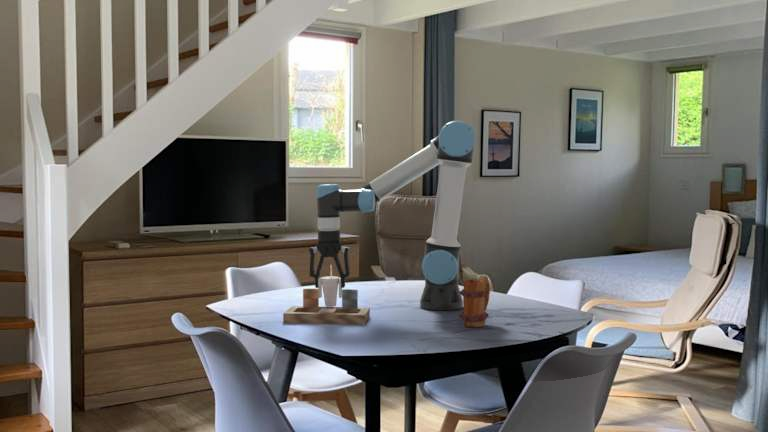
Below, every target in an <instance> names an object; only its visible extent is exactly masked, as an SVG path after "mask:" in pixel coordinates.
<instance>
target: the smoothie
mask: <svg viewBox="0 0 768 432" xmlns="http://www.w3.org/2000/svg"><path fill="white" fill-rule="evenodd" d="M329 268H330V269H329V270H330V276H322V277H320V278H321V281H322V295H323V299H324V307H337V301H338V292H339V280H338V279H339V278H340V277H339V276H333V265H332V264H330V267H329Z"/></svg>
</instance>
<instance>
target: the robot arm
mask: <svg viewBox="0 0 768 432" xmlns="http://www.w3.org/2000/svg"><path fill="white" fill-rule="evenodd" d="M475 144H476V133H475V130H474V129H473V127H472V125H470V124H469V123H467V122H466V121H463V120H462V121H461V120H452V121H449V122H447V123H445V124H444V125H443V126H442V127H441V129H440V131H439V134H438V135H437V136H436V137H434V138H433V139H431V140H430V143H429V144H428V145H426V146H425V147H424V148H422V149H421V150H419V151H417V152H416V153H414V154H413V155H411V156H410V157H408V158H406V159H405V160H403V161H401V162H400V163H397V164H396V165H395V166H394V167H392V168H391V169H388V170H387V171H386V172H384V173H382V174H381V175H379V176H377V177H376V178H375V179H373V180H371V181H369V182H368V183H366V184H364V185H363V186H361V187H360V188H358V189H340V185H339V184H337V183H334V184H333V183H330V184H329V183H328V184H327V183H326V184H323V183H322V184H319V185H318V186H317V190H316V191H317V192H316V206H317V210H316V211H317V229H318V231H317V244H316V246H314V247H313V246H312V247H309V250H308V251H309V254H310V258H309V259H310V260H309V277H311V278H313V279H314V282H315V283H314V284H315V285H314V286H315V289H319V299H321V298H322V297H323V287H322V281H321V278H322V277H321V273H322V269H323V266H324V263H325V260H326V258H329V257H330V258H333V260H334V262H335V265H336V268H337V272H338V274H339V276H340V277H339V279H338V280H339V281H338V299H342V289H345V286H346V278H347V277H349V276H350V275H351V269H350V267H351V266H350V258H349V257H350V256H349V253H350V247H349V246H343V245H342V243H341V231H340V230H339V229H340V228H341V219H340V218H341V217H340V215H341V214H340V213H368V212H373V211H375V207H376V204H378V203H379V202H380V201H382V200H384V199H386V198H387V197H389V196H390V195H392V194H394V193H395V192H397V191H398V190H400V189H402V188H403V187H405V186H406V185H408V184H409V183H411V182H412V181H415V180H416V179H418V178H419V177H421V176H423V175H425V174H426V173H429V171H431V170H432V169H434V168H435V167H437V166H440V167H439V176H438V180H437V182H438V183H437V188H436V189H437V190H436V198H435V205H434V206H435V207H434V213H433V221H432V229H431V236H430V237H429V238H428V239H426V241H425V247H424V254H423V255H424V256H423V260H422V262H421V271H422V273H423V275H424V283H425V284H424V286H423V292H422V293H421V297H420V300H419V307H420V308H421V309H424V310H425V309H426V310H432V311H454V310H455V311H456V310H460V309H461V310H462V309H464V302H463V296H462V295H461V294H460V291H461V290H460V287H459V261H460V252H461V244H460V242H459V241H458V234H459V225H460V218H461V212H462V204H463V203H462V202H463V195H464V189H465V181H466V173H467V168H468V167H470V166H471V165H472V163H473V156H474V148H475ZM340 251H342V253H343V260H344V261H343V262H344V269H343V266H342V263H341V259H340V256H339V253H340ZM317 252H319V253H320V258H319V262H318V264H317V268H316V267H315V266H316V254H317ZM315 269H316V272H315ZM344 270H345V271H344Z"/></svg>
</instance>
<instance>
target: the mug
mask: <svg viewBox="0 0 768 432" xmlns="http://www.w3.org/2000/svg"><path fill="white" fill-rule="evenodd" d="M489 281H490V280H489V278H488V276H486V275H479V277H478V278H477V279H475V280H474V279H468V280H464V282H463V289H462V290H460V294H461V296H462V299H463V311H462V312H461V313H460V314H459V315H458V317H459V319H461V321H463V325H464V326H465V327H468V328H481V327H483V326H484V325H485V323H486V320H487V319H488V318H489V313H487V311H486V310H487V307H488V304H489V300H490V292H491V287H490V282H489Z"/></svg>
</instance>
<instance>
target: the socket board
mask: <svg viewBox="0 0 768 432" xmlns="http://www.w3.org/2000/svg"><path fill="white" fill-rule="evenodd" d="M358 292H359V290H358V289H348V288H347V289H346V288H342V297H341V306H334V307H326V306H319V301H320V298H319V289H318V288H302V305H291V306H290V307H288V308H287V310H284V312H283V314H282V315H283V316H282V318H283V320H282V321H283V324H288V323H289V324H322V325H323V324H325V325H329V324H330V325H359V324H365V323H367V322H368V320H369V319H370V315H371V308H370V307H359V306H358V302H359V301H358V300H359V299H358V298H359V296H358ZM365 325H366V324H365Z"/></svg>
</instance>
